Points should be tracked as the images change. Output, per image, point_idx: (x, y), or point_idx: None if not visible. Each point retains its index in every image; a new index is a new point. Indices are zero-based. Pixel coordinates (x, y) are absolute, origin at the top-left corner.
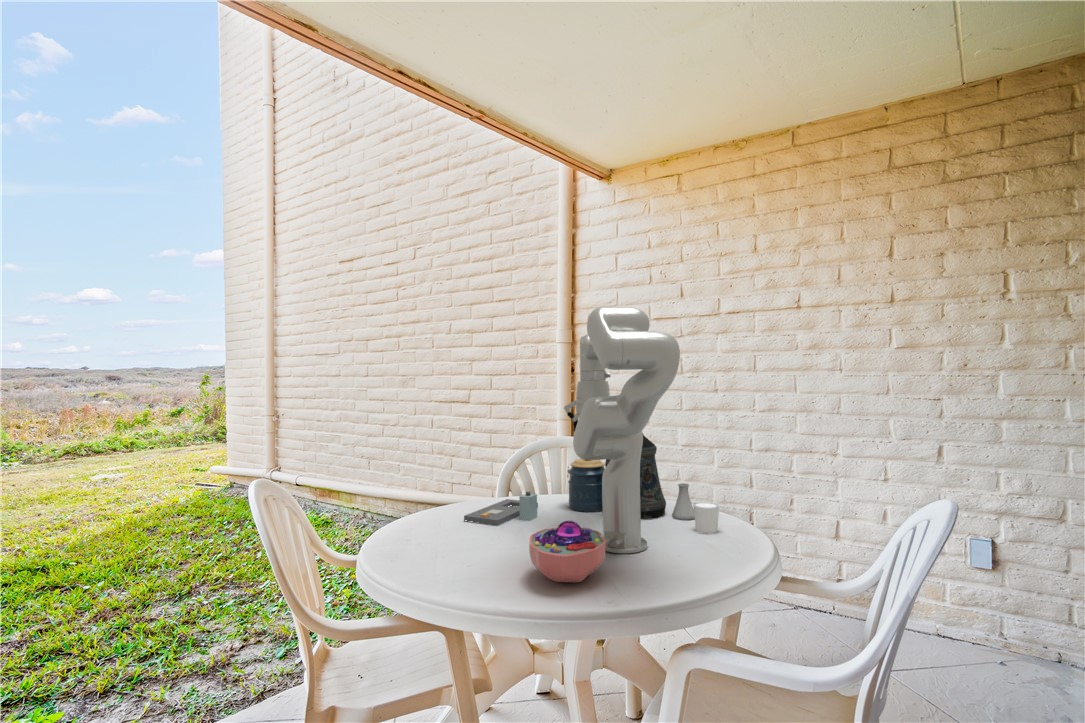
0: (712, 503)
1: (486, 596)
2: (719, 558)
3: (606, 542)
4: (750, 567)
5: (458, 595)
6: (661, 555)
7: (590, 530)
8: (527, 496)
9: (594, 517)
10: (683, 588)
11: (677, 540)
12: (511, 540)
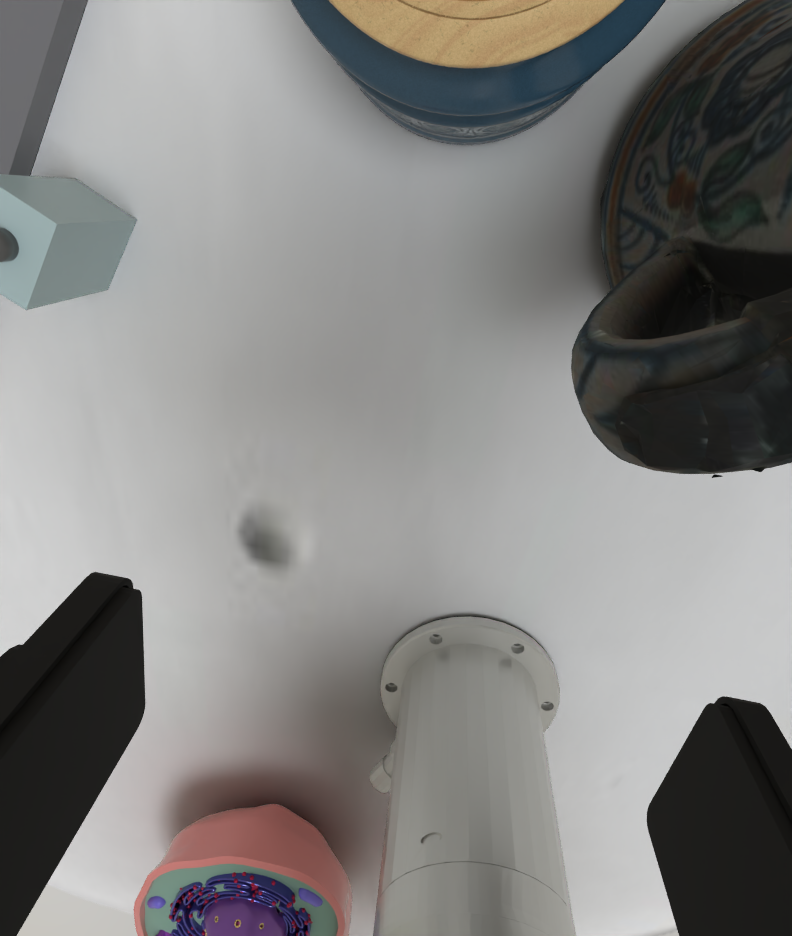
0: None
1: (103, 874)
2: None
3: (389, 790)
4: None
5: None
6: (564, 770)
7: (314, 905)
8: (6, 279)
9: (456, 274)
10: None
11: (695, 668)
12: (79, 560)
